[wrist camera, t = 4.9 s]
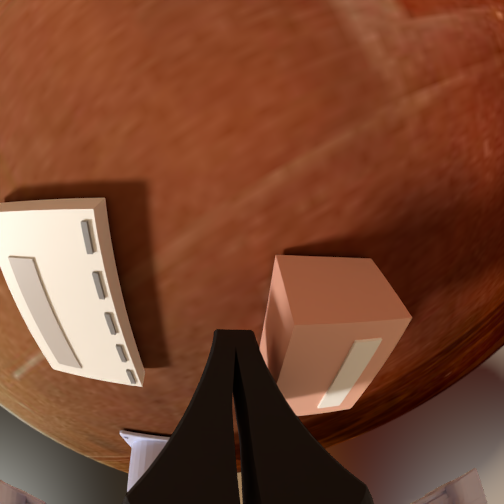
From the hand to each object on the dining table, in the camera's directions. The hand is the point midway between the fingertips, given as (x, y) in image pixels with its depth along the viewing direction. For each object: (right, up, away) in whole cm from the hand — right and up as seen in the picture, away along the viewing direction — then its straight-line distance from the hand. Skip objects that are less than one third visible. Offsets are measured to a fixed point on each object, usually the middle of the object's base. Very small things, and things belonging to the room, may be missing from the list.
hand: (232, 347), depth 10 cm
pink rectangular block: (+3, +1, +2) cm, 4 cm away
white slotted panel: (-8, +1, +1) cm, 8 cm away
